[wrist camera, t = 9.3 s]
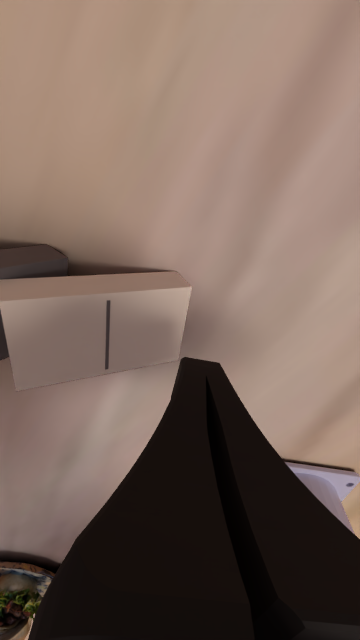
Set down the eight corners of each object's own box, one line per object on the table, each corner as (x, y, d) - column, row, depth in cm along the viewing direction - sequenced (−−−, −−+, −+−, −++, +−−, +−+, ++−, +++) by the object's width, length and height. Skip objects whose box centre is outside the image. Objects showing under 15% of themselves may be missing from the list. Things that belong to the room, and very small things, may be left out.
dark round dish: (84, 555, 30) (56, 669, 23) (74, 598, 36) (49, 698, 29) (-44, 538, 28) (-111, 654, 22) (-32, 585, 34) (-82, 688, 28)
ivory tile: (178, 360, 15) (16, 391, 12) (165, 341, 16) (15, 364, 13) (192, 287, 13) (-1, 301, 10) (175, 271, 14) (-1, 279, 11)
